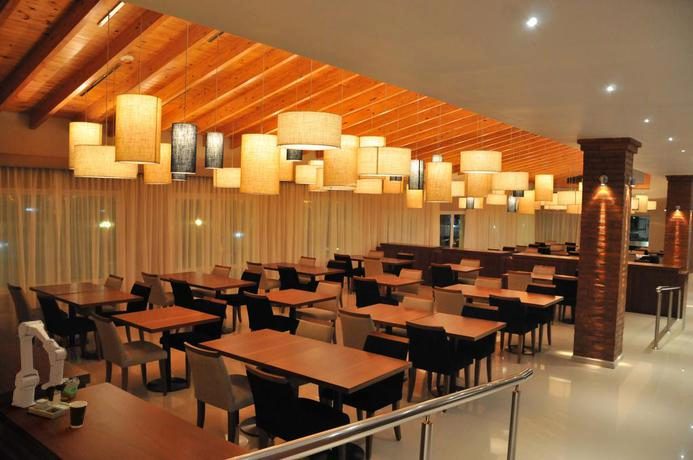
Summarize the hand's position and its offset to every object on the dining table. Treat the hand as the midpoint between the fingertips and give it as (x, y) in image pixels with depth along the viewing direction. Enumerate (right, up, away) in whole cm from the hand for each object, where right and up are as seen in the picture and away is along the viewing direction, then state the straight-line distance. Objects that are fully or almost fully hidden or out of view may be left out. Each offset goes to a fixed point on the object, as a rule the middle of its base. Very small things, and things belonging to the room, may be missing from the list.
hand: (54, 399), depth 263 cm
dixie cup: (+16, -10, -10) cm, 22 cm away
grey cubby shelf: (-4, -8, +1) cm, 9 cm away
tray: (-3, -8, +9) cm, 13 cm away
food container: (-4, -8, +25) cm, 26 cm away
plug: (0, -2, 0) cm, 2 cm away
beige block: (-8, -7, +3) cm, 11 cm away
